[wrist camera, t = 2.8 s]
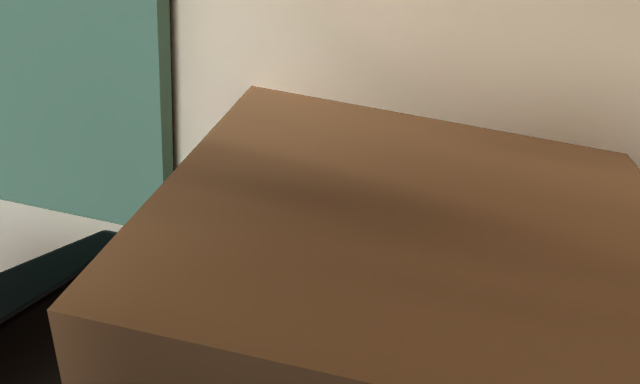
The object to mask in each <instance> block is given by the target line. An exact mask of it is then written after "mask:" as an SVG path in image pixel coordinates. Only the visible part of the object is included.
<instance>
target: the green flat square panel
mask: <svg viewBox="0 0 640 384" xmlns="http://www.w3.org/2000/svg"><path fill="white" fill-rule="evenodd" d="M172 172H173V132H172V90H171V49H170V7H169V0H0V199H2V200H7V201H11V202H16V203H21V204H26V205H30V206H35V207H40V208H45V209H49V210H54V211H59V212H64V213H69V214H73V215H78V216H83V217H88V218H92V219H97V220H102V221H107V222H111V223H116V224H121V225H125V224H126V223H127V222H128V221H129V220H130V218H131V217H132V216H133V215H134V214H135V213H136V212H137V211H138V210H139V209H140V208H141V206H142V205H143V204H144V203H145V202H146V201H147V200H148V199H149V198H150V197H151V195H152V194H153V193H154V192H155V191H156V190H157V189H158V188H159V187H160V186H161V185H162V183H163V182H164V181H165V180H166V179H167V178H168V177H169V176H170V175H171V174H172Z"/></svg>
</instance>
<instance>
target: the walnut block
mask: <svg viewBox="0 0 640 384" xmlns="http://www.w3.org/2000/svg"><path fill="white" fill-rule="evenodd" d="M47 313H48V318H49V323H50V328H51V333H52V337H53V342H54V347H55V352H56V357H57V362H58V367H59V372H60V377H61V382H62V384H640V170H639V168H638V167H637V166H636V165H635V164H634V162H633V161H632V160H631V159H630V158H629V156H628V155H627V154H623V153H617V152H612V151H606V150H601V149H595V148H590V147H584V146H579V145H573V144H568V143H562V142H557V141H551V140H546V139H540V138H535V137H529V136H524V135H518V134H513V133H507V132H502V131H496V130H491V129H485V128H480V127H474V126H469V125H463V124H458V123H452V122H447V121H441V120H436V119H430V118H425V117H419V116H414V115H409V114H403V113H398V112H392V111H387V110H381V109H376V108H370V107H365V106H359V105H354V104H348V103H343V102H337V101H332V100H326V99H321V98H315V97H310V96H304V95H299V94H293V93H288V92H282V91H277V90H271V89H266V88H260V87H255V86H251V87H250V88H249V89H248V90H247V91H246V93H245V94H244V95H243V96H242V97H241V98H240V99H239V100H238V101H237V102H236V104H235V105H234V106H233V107H232V108H231V109H230V110H229V111H228V112H227V113H226V114H225V116H224V117H223V118H222V119H221V120H220V121H219V122H218V123H217V124H216V125H215V127H214V128H213V129H212V130H211V131H210V132H209V133H208V134H207V135H206V136H205V137H204V139H203V140H202V141H201V142H200V143H199V144H198V145H197V146H196V147H195V148H194V149H193V151H192V152H191V153H190V154H189V155H188V156H187V157H186V158H185V159H184V160H183V162H182V163H181V164H180V165H179V166H178V167H177V168H176V169H175V170H174V171H173V172H172V174H171V175H170V176H169V177H168V178H167V179H166V180H165V181H164V182H163V183H162V185H161V186H160V187H159V188H158V189H157V190H156V191H155V192H154V193H153V194H152V195H151V197H150V198H149V199H148V200H147V201H146V202H145V203H144V204H143V205H142V206H141V208H140V209H139V210H138V211H137V212H136V213H135V214H134V215H133V216H132V217H131V218H130V220H129V221H128V222H127V223H126V224H125V225H124V226H123V227H122V228H121V229H120V231H119V232H118V233H117V234H116V235H115V236H114V237H113V238H112V239H111V240H110V241H109V243H108V244H107V245H106V246H105V247H104V248H103V249H102V250H101V251H100V252H99V253H98V255H97V256H96V257H95V258H94V259H93V260H92V261H91V262H90V263H89V264H88V266H87V267H86V268H85V269H84V270H83V271H82V272H81V273H80V274H79V275H78V276H77V278H76V279H75V280H74V281H73V282H72V283H71V284H70V285H69V286H68V287H67V289H66V290H65V291H64V292H63V293H62V294H61V295H60V296H59V297H58V298H57V299H56V301H55V302H54V303H53V304H52V305H51V306H50V307H49V308H48V309H47Z"/></svg>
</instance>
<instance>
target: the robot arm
mask: <svg viewBox="0 0 640 384" xmlns="http://www.w3.org/2000/svg"><path fill="white" fill-rule="evenodd" d="M117 233H118V232H113V231H107V230H104V231H100V232H98V233H95V234H93V235H90V236H88V237H86V238H83V239H81V240H78V241H76V242H73V243H71V244H69V245H66V246H64V247H61V248H59V249H56V250H54V251H52V252H49V253H47V254H44V255H42V256H39V257H37V258H35V259H32V260H30V261H27V262H25V263H22V264H20V265H18V266H15V267H13V268H10V269H8V270H5V271H3V272H1V273H0V384H62V382H61V377H60V372H59V367H58V362H57V357H56V352H55V347H54V342H53V337H52V333H51V328H50V323H49V318H48V313H47V309H48V308H49V307H50V306H51V305H52V304H53V303H54V302H55V301H56V299H57V298H58V297H59V296H60V295H61V294H62V293H63V292H64V291H65V290H66V289H67V287H68V286H69V285H70V284H71V283H72V282H73V281H74V280H75V279H76V278H77V276H78V275H79V274H80V273H81V272H82V271H83V270H84V269H85V268H86V267H87V266H88V264H89V263H90V262H91V261H92V260H93V259H94V258H95V257H96V256H97V255H98V253H99V252H100V251H101V250H102V249H103V248H104V247H105V246H106V245H107V244H108V243H109V241H110V240H111V239H112V238H113V237H114V236H115V235H116V234H117Z"/></svg>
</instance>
